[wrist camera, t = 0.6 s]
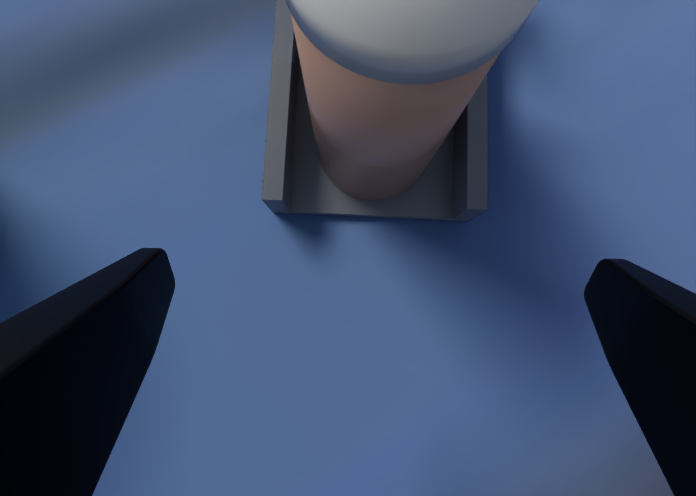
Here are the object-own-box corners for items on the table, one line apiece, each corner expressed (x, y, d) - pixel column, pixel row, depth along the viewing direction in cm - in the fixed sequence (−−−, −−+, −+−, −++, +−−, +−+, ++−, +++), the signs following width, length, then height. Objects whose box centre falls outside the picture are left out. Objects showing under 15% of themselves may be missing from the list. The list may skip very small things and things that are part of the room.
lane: (467, 221, 21) (521, 189, 15) (273, 212, 21) (242, 176, 15) (469, -21, 23) (516, -141, 17) (290, -29, 23) (269, -153, 17)
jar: (456, 148, 21) (625, -74, 9) (370, 226, 21) (412, 114, 8) (376, 68, 22) (421, -255, 9) (291, 141, 21) (209, -94, 8)
